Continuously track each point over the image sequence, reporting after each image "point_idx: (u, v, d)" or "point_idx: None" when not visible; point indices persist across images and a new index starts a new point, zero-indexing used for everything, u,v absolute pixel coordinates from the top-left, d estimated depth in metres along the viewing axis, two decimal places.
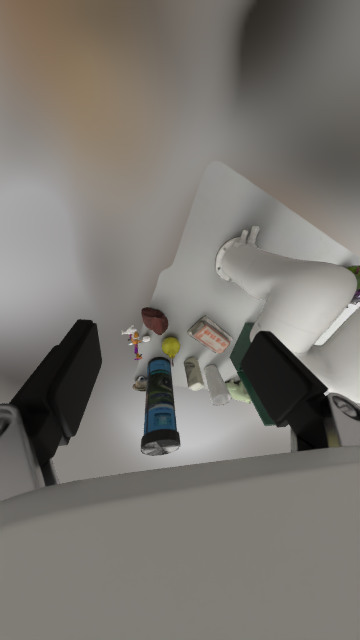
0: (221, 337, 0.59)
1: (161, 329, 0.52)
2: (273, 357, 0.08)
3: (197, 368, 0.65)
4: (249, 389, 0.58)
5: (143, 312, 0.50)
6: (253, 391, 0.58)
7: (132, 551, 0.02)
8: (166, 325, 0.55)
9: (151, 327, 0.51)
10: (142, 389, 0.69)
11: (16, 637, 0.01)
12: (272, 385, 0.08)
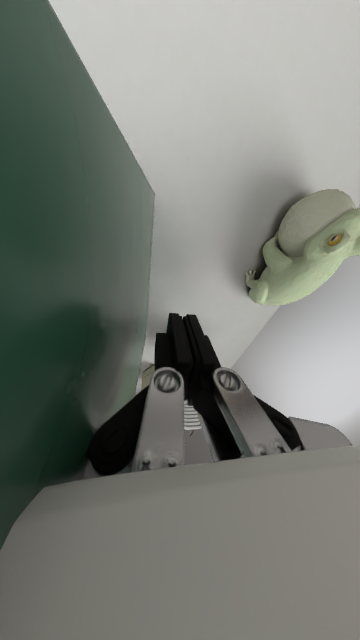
0: None
1: None
2: (187, 338, 0.08)
3: None
4: None
5: None
6: None
7: (132, 551, 0.02)
8: None
9: None
10: None
11: (16, 637, 0.01)
12: None
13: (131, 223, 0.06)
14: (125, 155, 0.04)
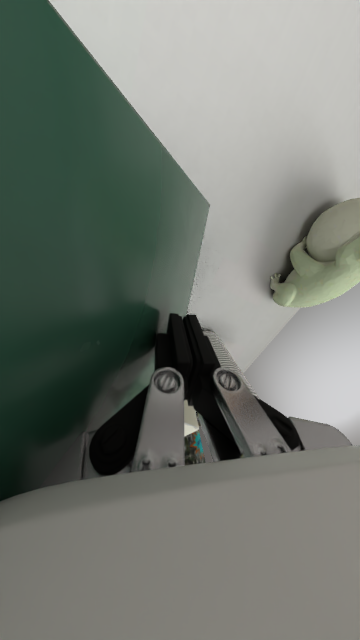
0: None
1: None
2: (187, 338, 0.08)
3: None
4: None
5: None
6: None
7: (132, 551, 0.02)
8: None
9: None
10: None
11: (16, 638, 0.01)
12: None
13: (172, 229, 0.07)
14: (172, 171, 0.05)
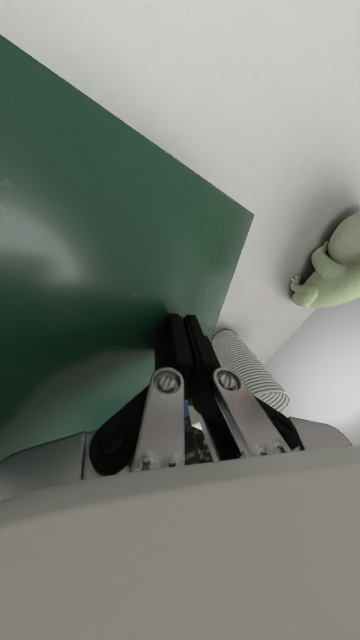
0: None
1: None
2: (187, 338, 0.08)
3: None
4: None
5: None
6: None
7: (132, 551, 0.02)
8: None
9: None
10: None
11: (16, 637, 0.01)
12: None
13: (207, 233, 0.09)
14: (209, 192, 0.07)
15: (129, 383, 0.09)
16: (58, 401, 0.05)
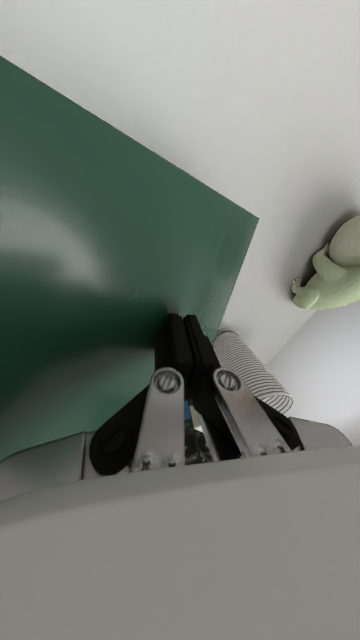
0: None
1: None
2: (187, 338, 0.08)
3: None
4: None
5: None
6: None
7: (132, 551, 0.02)
8: None
9: None
10: None
11: (16, 637, 0.01)
12: None
13: (209, 236, 0.09)
14: (210, 197, 0.08)
15: (129, 382, 0.09)
16: (59, 396, 0.06)
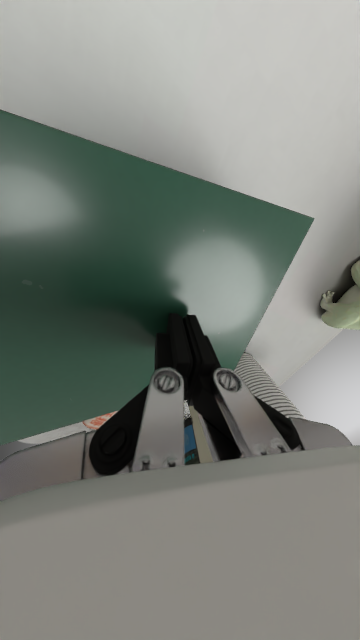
0: None
1: None
2: (187, 338, 0.08)
3: None
4: None
5: None
6: None
7: (132, 551, 0.02)
8: None
9: None
10: None
11: (16, 638, 0.01)
12: None
13: (166, 231, 0.07)
14: (151, 174, 0.06)
15: (54, 377, 0.09)
16: None
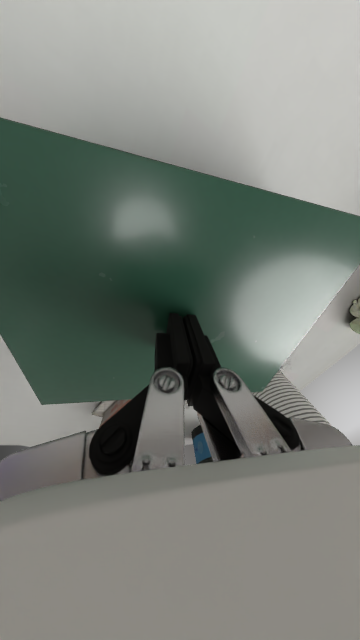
0: None
1: None
2: (187, 338, 0.08)
3: None
4: None
5: None
6: None
7: (132, 552, 0.02)
8: None
9: None
10: None
11: (15, 638, 0.01)
12: None
13: (218, 236, 0.07)
14: (212, 187, 0.06)
15: (105, 356, 0.10)
16: (40, 325, 0.08)
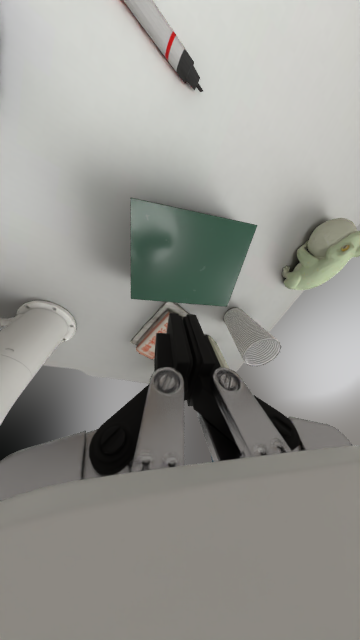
0: (156, 328, 0.41)
1: None
2: (187, 338, 0.08)
3: None
4: None
5: None
6: None
7: (132, 551, 0.02)
8: None
9: None
10: None
11: (16, 638, 0.01)
12: None
13: (200, 228, 0.25)
14: (198, 215, 0.24)
15: (160, 273, 0.28)
16: (143, 257, 0.26)
